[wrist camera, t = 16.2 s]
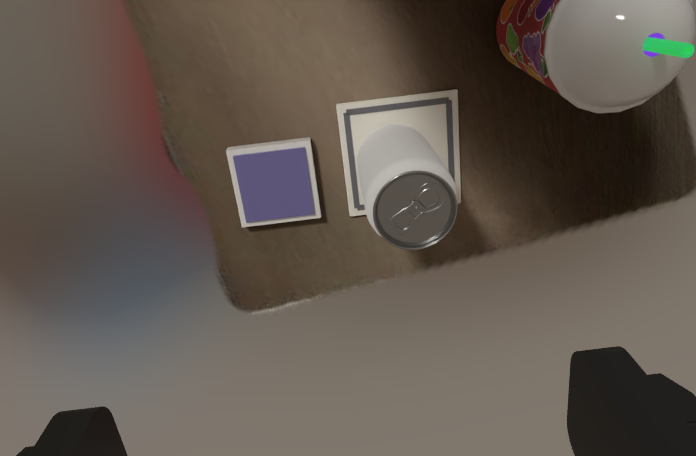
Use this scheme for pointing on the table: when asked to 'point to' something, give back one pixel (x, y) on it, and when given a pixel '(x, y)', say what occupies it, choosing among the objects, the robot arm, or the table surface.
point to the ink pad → (274, 182)
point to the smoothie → (599, 47)
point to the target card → (412, 110)
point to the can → (406, 188)
